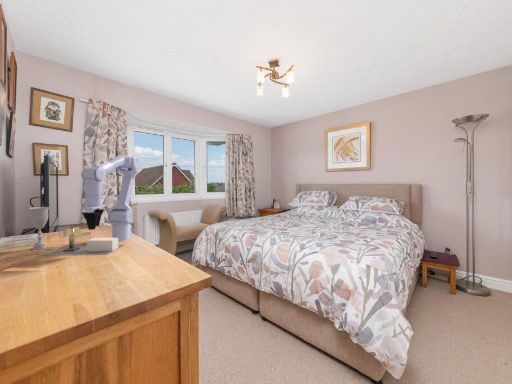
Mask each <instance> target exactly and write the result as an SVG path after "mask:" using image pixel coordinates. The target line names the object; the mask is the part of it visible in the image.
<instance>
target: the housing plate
mask: <svg viewBox="0 0 512 384" xmlns="http://www.w3.org/2000/svg"><path fill="white" fill-rule="evenodd" d="M124 246H125V244H118V248H117V249H115V250H114V251H87V244H79V245H78V244H77V245H76V244H75V248H72V249H69V245H67V246H64V247H61V248H58V249H55V250H53V251H50V252H47V253H45V254H43V255H41V256H42V257H43V256H45V257H49V256H51V257H52V256H108V255H110V254H111V253H113V252H115V251H117V250H119V249H120V248H122V247H124Z"/></svg>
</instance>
